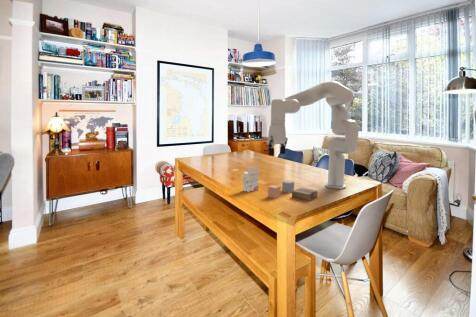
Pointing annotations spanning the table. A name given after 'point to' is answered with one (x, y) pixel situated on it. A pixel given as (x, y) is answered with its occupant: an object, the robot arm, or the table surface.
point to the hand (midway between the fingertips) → (277, 154)
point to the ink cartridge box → (250, 179)
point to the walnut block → (304, 194)
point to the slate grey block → (287, 186)
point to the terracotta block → (274, 191)
